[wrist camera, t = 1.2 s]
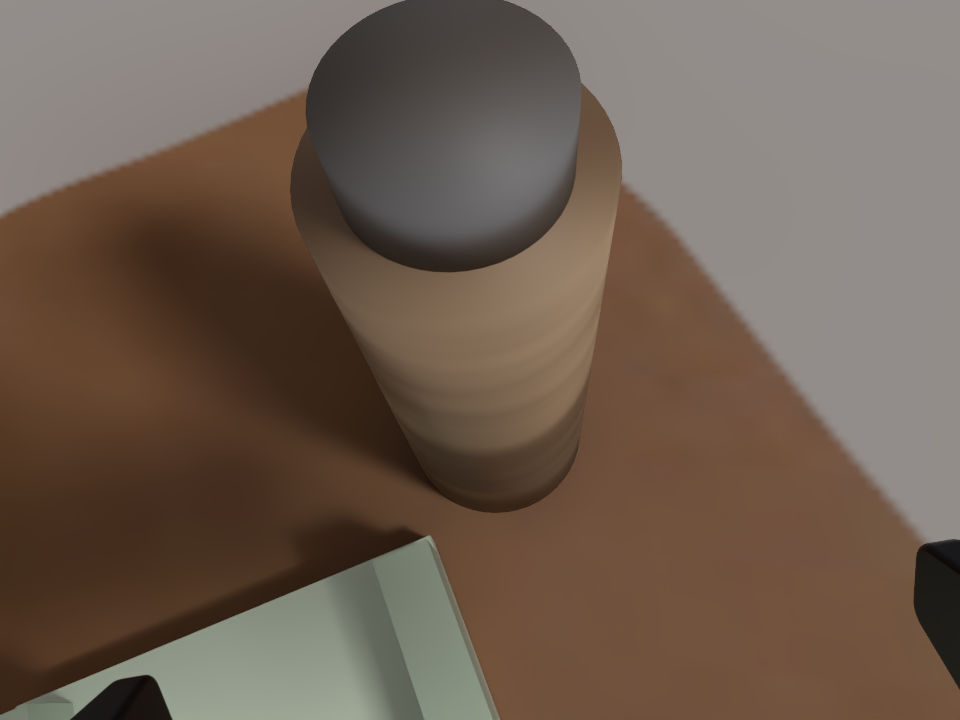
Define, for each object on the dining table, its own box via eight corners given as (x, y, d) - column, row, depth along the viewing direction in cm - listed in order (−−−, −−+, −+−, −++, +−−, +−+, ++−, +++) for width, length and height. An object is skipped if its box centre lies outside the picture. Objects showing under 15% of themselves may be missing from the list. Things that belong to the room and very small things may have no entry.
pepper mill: (607, 473, 23) (704, 168, 10) (447, 539, 22) (317, 316, 9) (539, 331, 25) (540, -82, 12) (391, 389, 25) (216, 28, 11)
